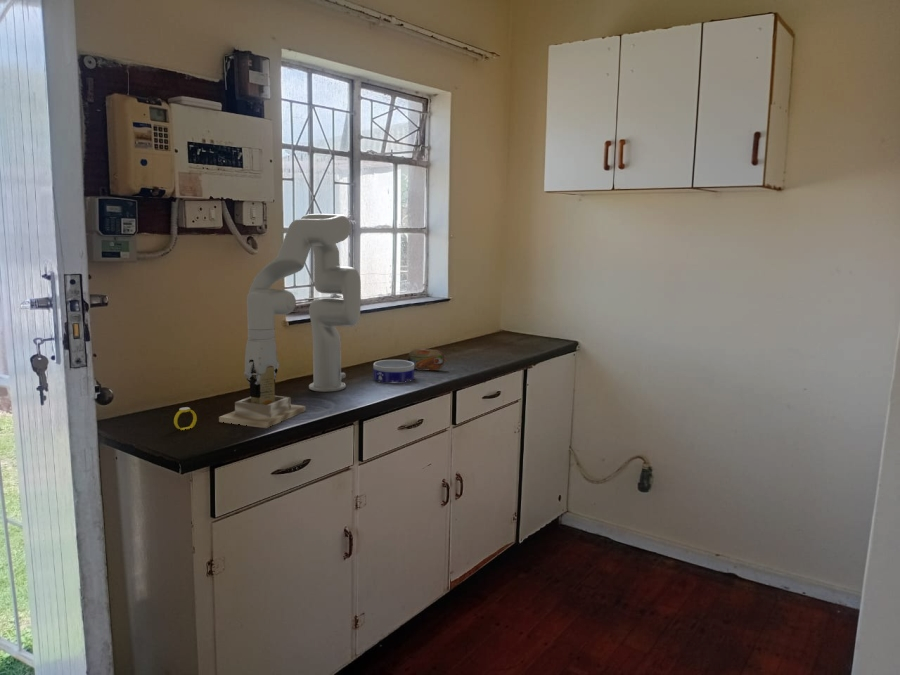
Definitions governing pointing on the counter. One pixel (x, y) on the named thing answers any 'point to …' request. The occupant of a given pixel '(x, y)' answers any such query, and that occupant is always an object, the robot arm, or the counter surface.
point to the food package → (426, 359)
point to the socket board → (262, 412)
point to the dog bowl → (393, 371)
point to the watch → (185, 409)
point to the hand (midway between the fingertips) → (262, 393)
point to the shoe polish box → (266, 388)
